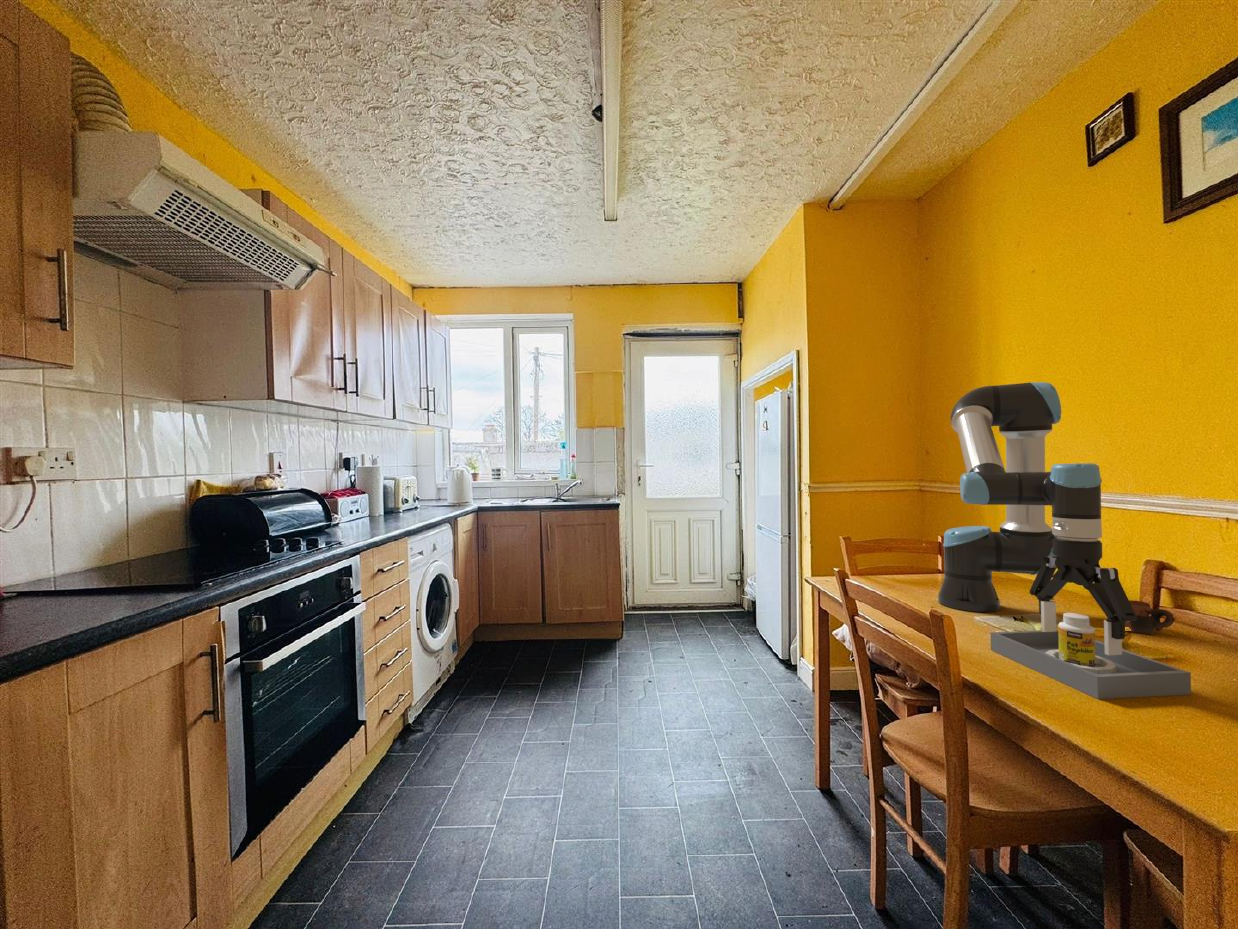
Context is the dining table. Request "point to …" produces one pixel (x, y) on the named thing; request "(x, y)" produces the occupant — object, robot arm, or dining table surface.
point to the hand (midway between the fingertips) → (1079, 642)
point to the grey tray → (1103, 680)
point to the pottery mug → (1148, 618)
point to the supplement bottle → (1076, 640)
